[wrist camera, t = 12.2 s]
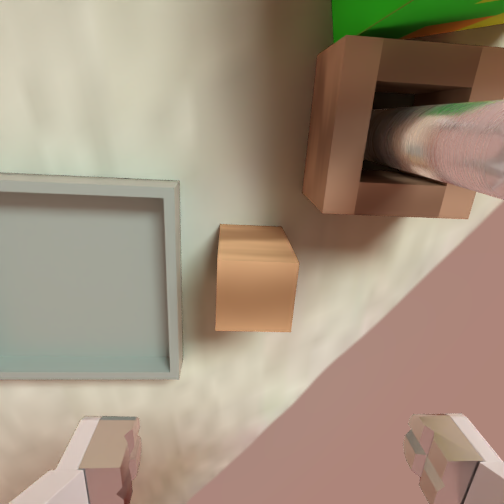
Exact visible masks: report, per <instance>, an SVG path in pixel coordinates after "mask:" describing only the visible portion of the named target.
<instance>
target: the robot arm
mask: <svg viewBox="0 0 504 504" xmlns="http://www.w3.org/2000/svg"><path fill="white" fill-rule="evenodd" d="M408 424H409V426H410V428H411V430H410V431H409V432H408V433H407V434H406V435H405V438H404V442H403V448H404V454H405V458H406V461H407V463H408V465H409V467H410V469H411V470H412V471H413V472H414V473H415V474H417V475H418V476H419V477H420V480H419V486H420V488H421V490H422V492H423V494H424V496H425V497H426V499H427V501H428V503H429V504H504V461H502V460H501V459H500V457H499V456H498V455H497V454H496V453H495V451H494V450H493V449H492V448H491V446H490V445H489V444H488V443H487V441H486V440H485V439H484V438H483V437H482V435H481V434H480V433H479V432H478V430H477V429H476V428H475V427H474V426H473V424H472V423H471V422H470V421H469V419H468V418H467V417H466V416H464V415H463V414H461V413H459V414H413V415H412V416H411V417H410V420H409V423H408ZM139 429H140V421H139V418H138V417H118V416H102V417H99V416H84V417H83V418H82V419H81V420H80V422H79V423H78V425H77V427H76V429H75V431H74V433H73V435H72V437H71V439H70V441H69V443H68V445H67V447H66V449H65V451H64V453H63V455H62V457H61V459H60V461H59V463H58V465H57V467H56V469H55V470H49V471H48V472H46V473H45V474H44V475H43V476H41V477H40V478H39V479H38V480H36V481H35V482H34V483H33V484H31V485H30V486H29V487H28V488H27V489H25V490H24V491H23V492H22V493H20V494H19V495H18V496H17V497H15V498H14V499H13V500H12V501H10V502H9V503H8V504H129V503H130V500H131V496H132V492H133V491H132V480H133V479H134V478H135V477H136V476H137V473H138V469H139V465H140V458H141V438H140V437H139V436H138V432H139Z"/></svg>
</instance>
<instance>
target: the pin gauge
mask: <svg viewBox="0 0 504 504" xmlns="http://www.w3.org/2000/svg"><path fill="white" fill-rule="evenodd" d="M363 159H365V160H369V161H372V162H376V163H379V164H382V165H386V166H389V167H393V168H396V169H400V170H403V171H407V172H410V173H414V174H417V175H421V176H424V177H427V178H431V179H434V180H438V181H441V182H445V183H448V184H452V185H455V186H459V187H462V188H465V189H469V190H472V191H476V192H479V193H483V194H486V195H490V196H493V197H497V198H500V199H503V200H504V99H503V100H490V101H477V102H465V103H452V104H439V105H427V106H414V107H401V108H389V109H376V110H372V111H371V117H370V123H369V129H368V135H367V140H366V146H365V152H364V158H363Z"/></svg>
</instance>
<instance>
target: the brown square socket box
mask: <svg viewBox="0 0 504 504" xmlns="http://www.w3.org/2000/svg"><path fill="white" fill-rule="evenodd" d="M375 92H389V93H403V94H415V99H414V104H413V107H414V106H427V105H439V104H452V103H465V102H477V101H490V100H503V99H504V48H501V47H489V46H477V45H464V44H452V43H440V42H428V41H416V40H403V39H391V38H379V37H367V36H355V35H346V36H344V37H343V38H341V39H340V40H338V41H337V42H335V43H334V44H333V45H331V46H330V47H328V48H327V49H325V50H324V51H323V52H321V53H320V54H318V55H317V63H316V72H315V81H314V90H313V99H312V108H311V117H310V126H309V135H308V144H307V153H306V162H305V171H304V180H303V190H302V193H303V194H304V195H305V196H306V197H307V198H308V199H309V200H310V201H311V202H312V203H313V204H314V205H315V206H316V207H317V208H318V209H319V210H320V212H321V213H323V214H349V215H375V216H400V217H426V218H452V219H468V218H469V214H470V211H471V207H472V204H473V201H474V197H475V194H476V191H472V190H469V189H465V188H462V187H459V186H455V185H452V184H448V183H445V182H441V181H438V180H434V179H431V178H427V177H424V176H421V175H417V174H414V173H410V172H407V171H403V170H400V171H381V170H362V164H363V158H364V152H365V146H366V140H367V135H368V129H369V123H370V117H371V111H372V105H373V99H374V93H375Z"/></svg>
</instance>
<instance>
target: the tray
mask: <svg viewBox="0 0 504 504" xmlns="http://www.w3.org/2000/svg"><path fill="white" fill-rule="evenodd" d="M182 362H183V324H182V275H181V225H180V181H174V180H152V179H130V178H107V177H85V176H63V175H41V174H19V173H0V380H119V379H179V378H180V373H181V368H182Z"/></svg>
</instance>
